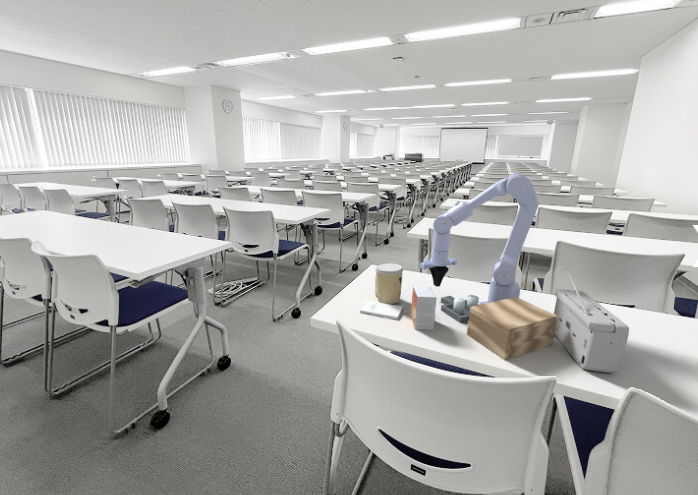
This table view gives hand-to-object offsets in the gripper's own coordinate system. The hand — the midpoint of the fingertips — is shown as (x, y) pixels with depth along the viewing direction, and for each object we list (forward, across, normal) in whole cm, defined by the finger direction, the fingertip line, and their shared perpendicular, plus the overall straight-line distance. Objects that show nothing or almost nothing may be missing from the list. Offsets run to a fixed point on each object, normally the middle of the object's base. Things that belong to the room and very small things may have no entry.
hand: (436, 285), depth 118 cm
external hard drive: (+5, +24, +3) cm, 25 cm away
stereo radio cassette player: (+4, -13, +43) cm, 45 cm away
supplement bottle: (+4, +18, -8) cm, 20 cm away
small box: (+4, +17, +15) cm, 23 cm away
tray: (+4, 0, +12) cm, 13 cm away
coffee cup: (+4, +18, -3) cm, 19 cm away
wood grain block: (+4, 0, +32) cm, 32 cm away
